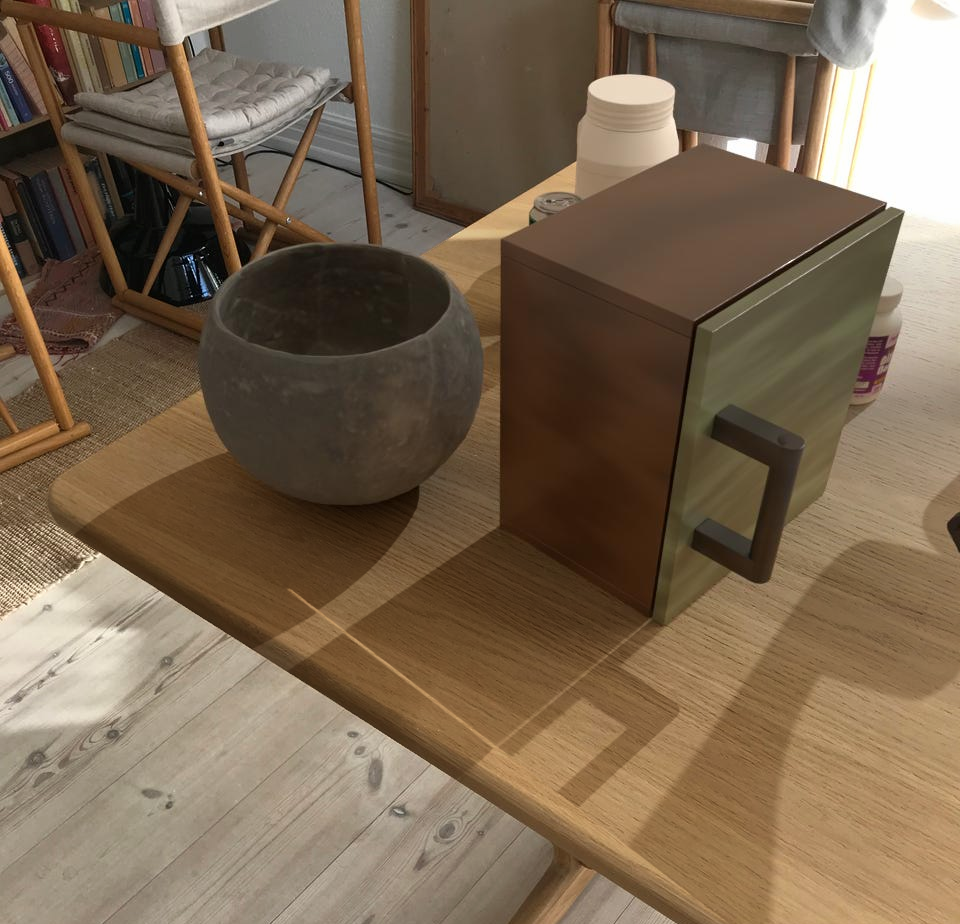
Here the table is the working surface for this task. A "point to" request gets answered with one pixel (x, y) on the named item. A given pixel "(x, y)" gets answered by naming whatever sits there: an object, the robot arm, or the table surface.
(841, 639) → the table surface
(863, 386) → the pill bottle
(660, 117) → the jar
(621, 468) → the cupboard
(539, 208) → the soda can
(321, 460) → the bowl
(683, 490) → the door
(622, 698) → the table surface
